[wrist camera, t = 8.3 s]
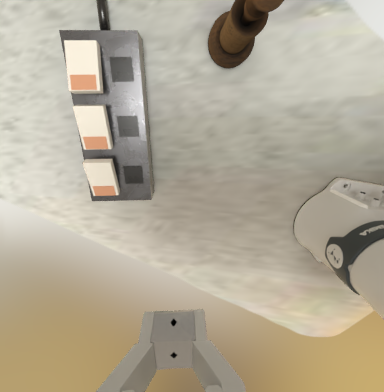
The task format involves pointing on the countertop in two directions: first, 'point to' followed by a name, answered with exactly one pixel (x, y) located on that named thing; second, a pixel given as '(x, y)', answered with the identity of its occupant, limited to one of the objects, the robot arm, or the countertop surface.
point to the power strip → (120, 107)
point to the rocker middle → (93, 126)
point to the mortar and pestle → (238, 31)
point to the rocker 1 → (83, 66)
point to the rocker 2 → (101, 177)
